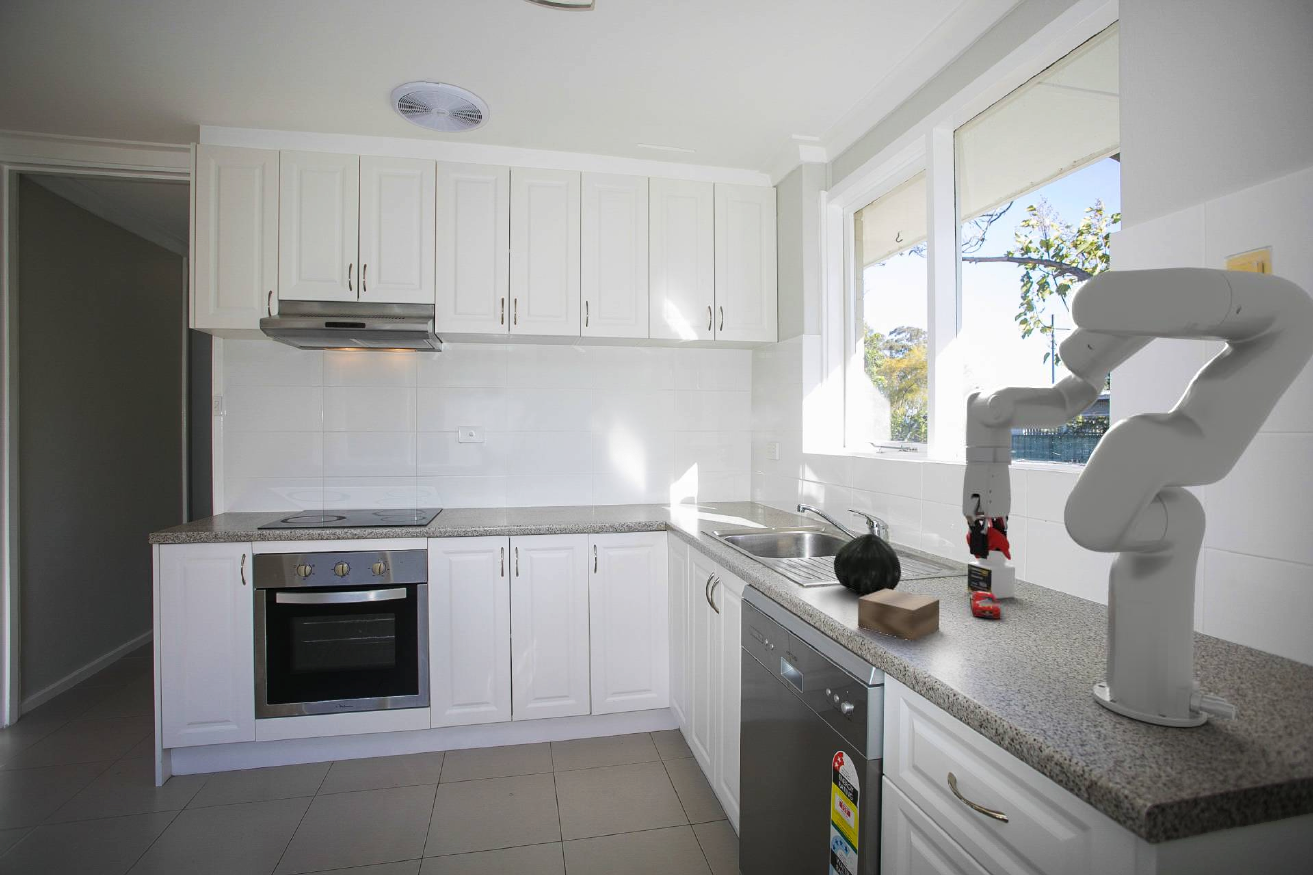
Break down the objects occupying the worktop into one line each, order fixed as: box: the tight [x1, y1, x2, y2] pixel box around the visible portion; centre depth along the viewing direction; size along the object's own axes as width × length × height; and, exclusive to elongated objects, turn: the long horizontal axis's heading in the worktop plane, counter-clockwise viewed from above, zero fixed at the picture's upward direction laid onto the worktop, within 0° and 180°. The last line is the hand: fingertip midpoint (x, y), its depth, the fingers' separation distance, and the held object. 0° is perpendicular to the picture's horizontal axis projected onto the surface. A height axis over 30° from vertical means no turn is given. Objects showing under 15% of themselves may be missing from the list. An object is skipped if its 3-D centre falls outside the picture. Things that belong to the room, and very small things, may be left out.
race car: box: [969, 591, 1001, 620], centre depth 136 cm, size 13×5×4 cm, turn 156°
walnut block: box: [857, 589, 940, 642], centre depth 124 cm, size 11×11×6 cm
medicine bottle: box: [967, 550, 1016, 600], centre depth 149 cm, size 7×7×12 cm
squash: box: [833, 533, 902, 596], centre depth 151 cm, size 14×15×15 cm
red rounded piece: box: [965, 525, 1012, 561], centre depth 118 cm, size 8×6×6 cm
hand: (988, 552), depth 118 cm, fingers closed on red rounded piece, 6 cm apart
